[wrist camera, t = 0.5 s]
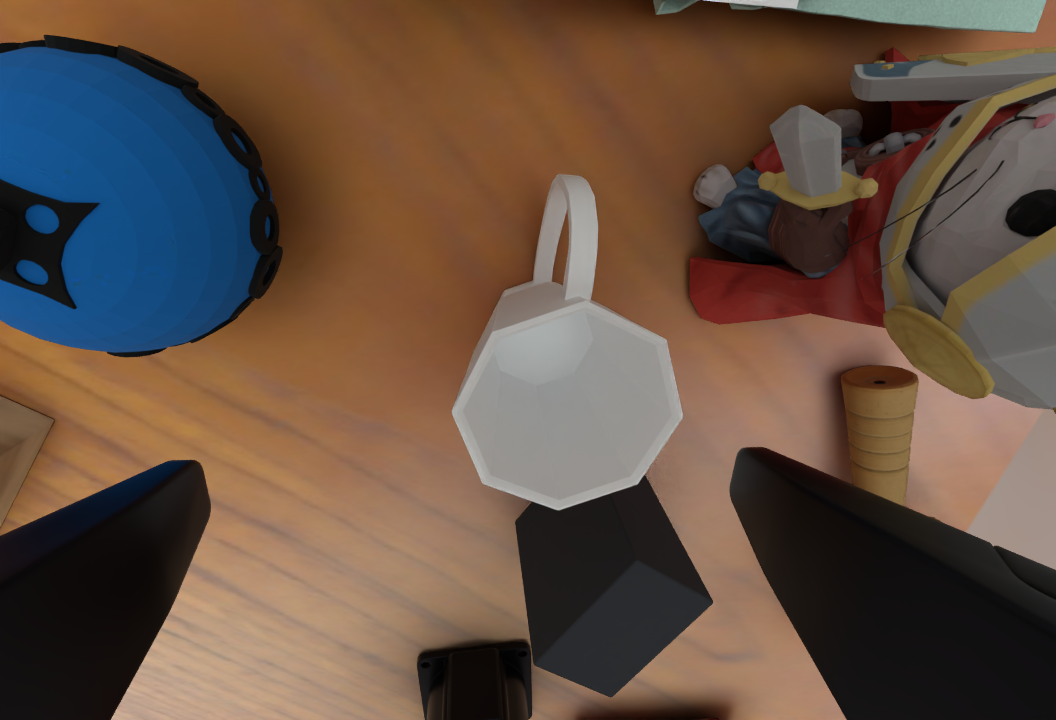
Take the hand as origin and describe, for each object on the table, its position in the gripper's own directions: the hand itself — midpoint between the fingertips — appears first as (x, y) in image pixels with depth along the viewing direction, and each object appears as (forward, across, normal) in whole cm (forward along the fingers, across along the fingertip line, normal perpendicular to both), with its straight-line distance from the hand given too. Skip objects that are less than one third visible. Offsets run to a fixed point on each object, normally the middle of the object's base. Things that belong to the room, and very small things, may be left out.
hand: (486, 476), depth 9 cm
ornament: (+14, +10, -3) cm, 18 cm away
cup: (+14, -3, 0) cm, 14 cm away
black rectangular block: (+14, -6, +11) cm, 19 cm away
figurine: (+14, -13, -4) cm, 20 cm away
